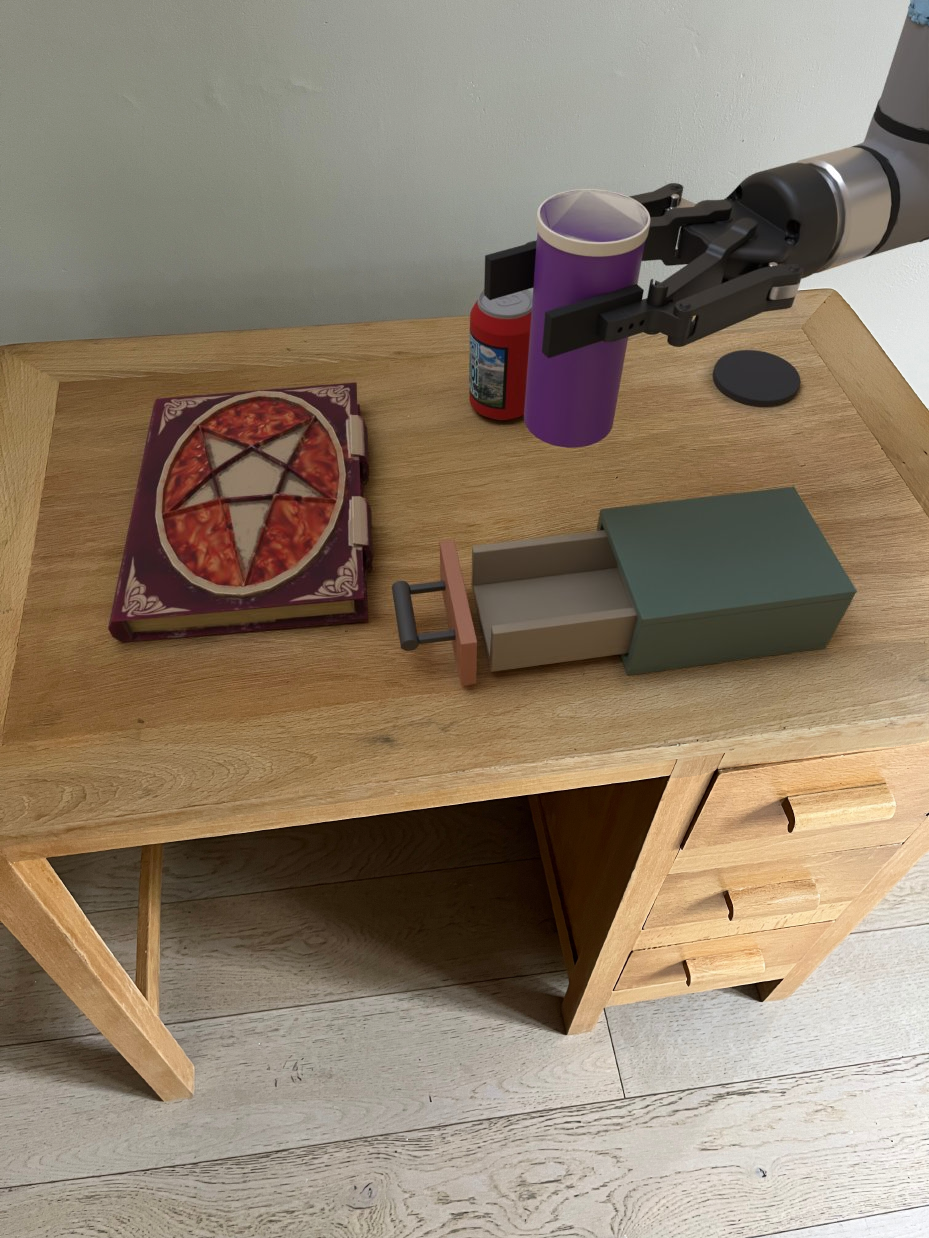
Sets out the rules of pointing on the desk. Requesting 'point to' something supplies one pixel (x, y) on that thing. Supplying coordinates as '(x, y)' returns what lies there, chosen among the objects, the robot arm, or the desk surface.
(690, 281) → the robot arm
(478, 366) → the beverage can
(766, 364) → the coaster
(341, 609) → the book
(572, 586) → the drawer
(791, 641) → the cabinet
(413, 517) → the desk surface
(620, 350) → the tube
